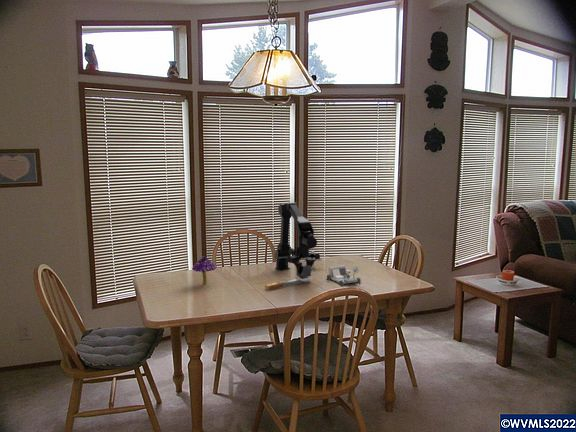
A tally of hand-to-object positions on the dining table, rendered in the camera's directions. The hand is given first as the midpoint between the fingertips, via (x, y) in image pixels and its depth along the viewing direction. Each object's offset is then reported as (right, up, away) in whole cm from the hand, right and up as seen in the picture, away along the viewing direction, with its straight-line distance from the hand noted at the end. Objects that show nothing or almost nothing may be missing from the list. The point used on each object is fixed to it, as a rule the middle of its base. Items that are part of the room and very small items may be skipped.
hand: (303, 273), depth 242 cm
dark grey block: (0, -1, 0) cm, 1 cm away
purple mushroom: (-52, -5, -5) cm, 52 cm away
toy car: (+22, -5, 0) cm, 22 cm away
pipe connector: (+7, -1, +31) cm, 32 cm away
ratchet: (-8, -5, -6) cm, 11 cm away
